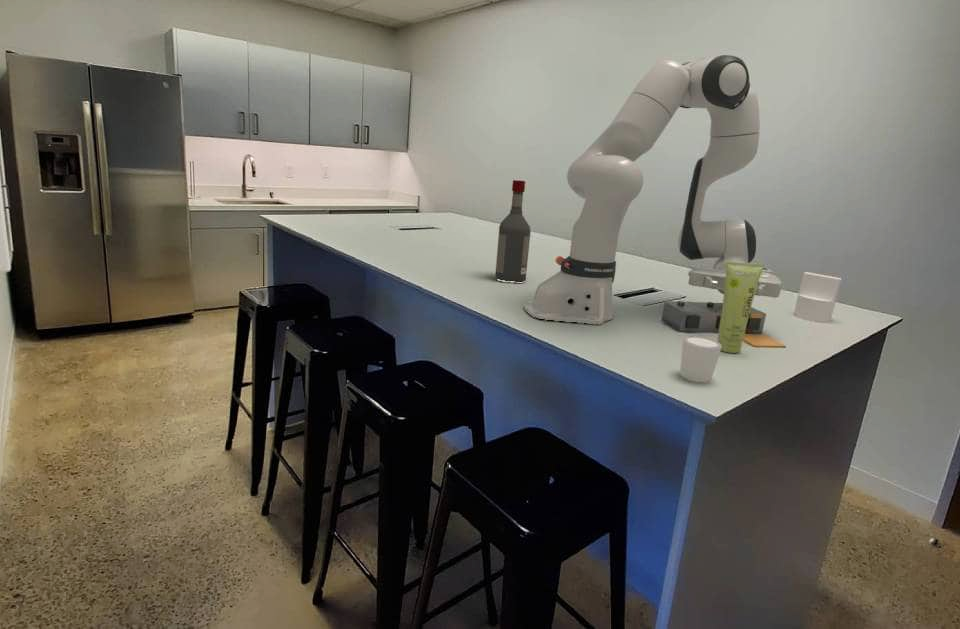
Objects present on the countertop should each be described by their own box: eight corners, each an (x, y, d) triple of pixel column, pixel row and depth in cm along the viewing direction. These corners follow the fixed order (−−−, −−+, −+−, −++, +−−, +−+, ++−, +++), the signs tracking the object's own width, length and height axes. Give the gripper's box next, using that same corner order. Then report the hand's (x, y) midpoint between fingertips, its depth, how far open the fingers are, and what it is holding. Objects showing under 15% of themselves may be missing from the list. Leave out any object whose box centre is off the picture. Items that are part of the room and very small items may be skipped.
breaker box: (680, 332, 133) (684, 309, 131) (661, 320, 142) (665, 298, 140) (763, 334, 136) (768, 312, 135) (740, 322, 145) (744, 301, 144)
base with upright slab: (789, 316, 155) (799, 274, 152) (798, 311, 162) (808, 270, 158) (826, 324, 149) (837, 281, 146) (833, 319, 156) (844, 277, 152)
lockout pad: (754, 347, 126) (754, 345, 126) (733, 335, 134) (733, 333, 133) (785, 347, 127) (786, 345, 127) (763, 335, 135) (763, 334, 135)
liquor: (495, 282, 169) (504, 180, 160) (495, 275, 177) (503, 178, 169) (525, 284, 169) (536, 182, 160) (523, 277, 178) (533, 181, 169)
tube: (730, 355, 119) (749, 265, 113) (709, 348, 123) (726, 260, 117) (744, 351, 122) (764, 264, 117) (723, 344, 126) (741, 259, 121)
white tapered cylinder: (710, 387, 101) (718, 351, 99) (672, 377, 105) (679, 341, 103) (717, 376, 107) (725, 341, 105) (681, 366, 110) (687, 333, 108)
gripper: (690, 259, 143) (689, 268, 130) (779, 271, 136) (787, 281, 124) (686, 283, 144) (684, 294, 132) (773, 296, 138) (780, 309, 125)
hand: (735, 288), depth 128 cm, fingers open, 8 cm apart
